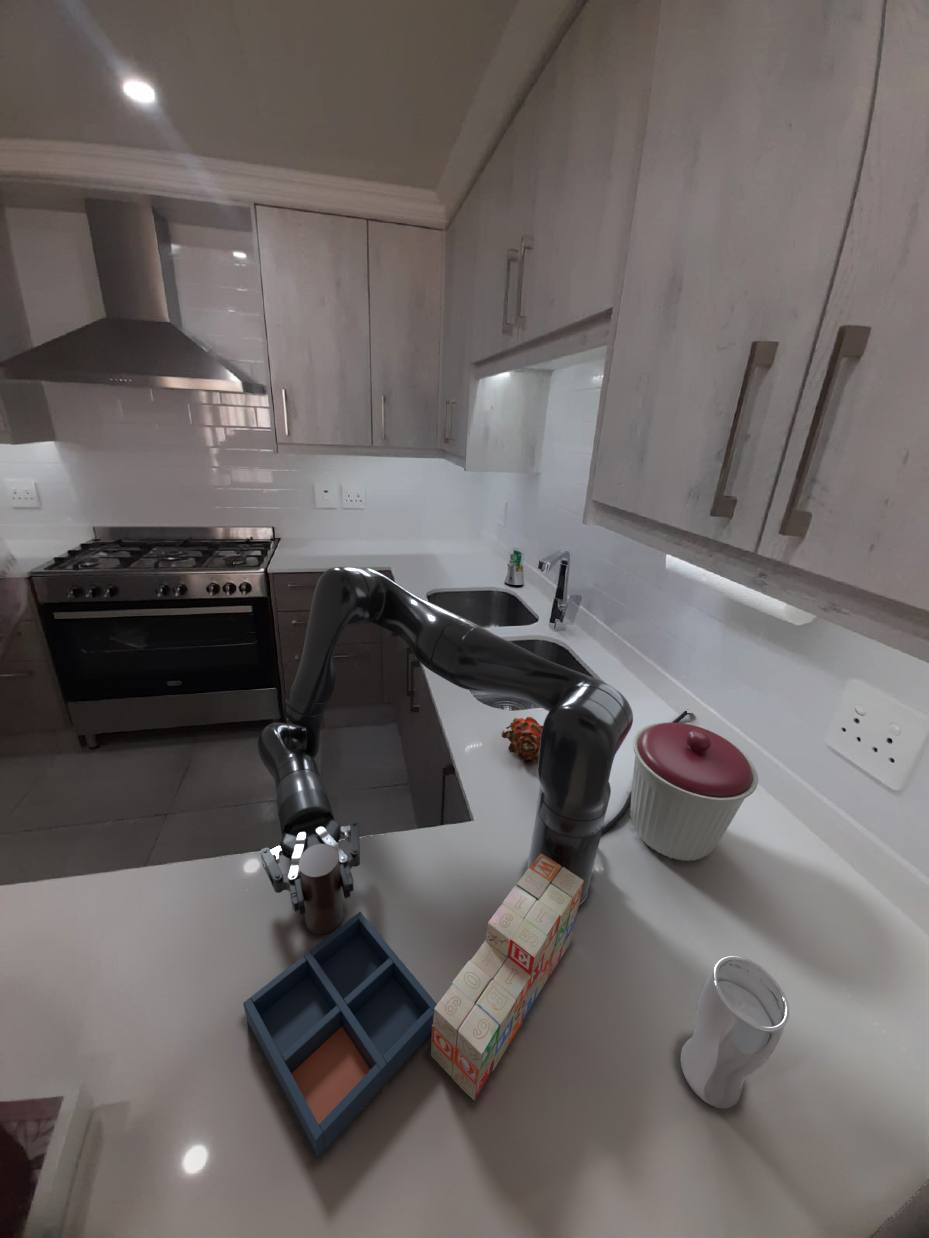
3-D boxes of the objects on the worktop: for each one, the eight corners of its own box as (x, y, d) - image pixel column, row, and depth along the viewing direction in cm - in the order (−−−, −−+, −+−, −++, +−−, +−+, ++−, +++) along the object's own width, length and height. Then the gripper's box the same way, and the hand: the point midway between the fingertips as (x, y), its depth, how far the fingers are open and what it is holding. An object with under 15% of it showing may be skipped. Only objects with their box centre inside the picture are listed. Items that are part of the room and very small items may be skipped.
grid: (361, 928, 65) (360, 910, 64) (438, 1024, 56) (439, 1006, 54) (246, 1020, 55) (242, 1002, 54) (318, 1158, 46) (315, 1140, 44)
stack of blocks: (474, 1104, 50) (483, 1037, 45) (429, 1056, 53) (432, 989, 48) (571, 942, 65) (585, 878, 60) (531, 913, 69) (541, 850, 64)
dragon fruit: (530, 781, 95) (512, 748, 106) (565, 755, 95) (543, 725, 106) (507, 752, 92) (491, 722, 103) (544, 725, 92) (523, 698, 103)
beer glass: (752, 1070, 53) (798, 989, 47) (734, 1134, 49) (783, 1052, 43) (688, 1019, 58) (723, 938, 51) (666, 1073, 53) (701, 991, 47)
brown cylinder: (330, 892, 70) (325, 836, 65) (350, 916, 67) (346, 860, 62) (298, 915, 66) (291, 858, 62) (317, 942, 63) (311, 884, 59)
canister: (629, 875, 75) (659, 768, 66) (605, 789, 92) (627, 695, 83) (748, 886, 75) (794, 779, 66) (702, 798, 91) (734, 704, 82)
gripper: (250, 801, 71) (261, 902, 57) (349, 775, 77) (380, 861, 63) (257, 839, 74) (268, 943, 60) (350, 811, 80) (380, 900, 66)
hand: (325, 900), depth 62 cm, fingers closed on brown cylinder, 5 cm apart
